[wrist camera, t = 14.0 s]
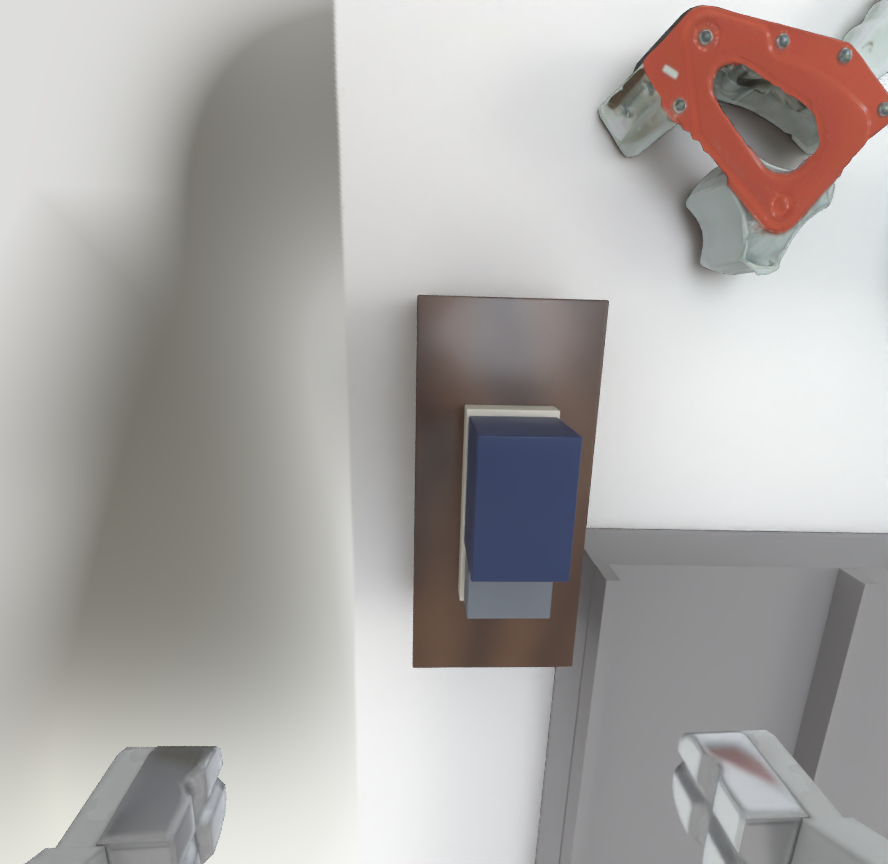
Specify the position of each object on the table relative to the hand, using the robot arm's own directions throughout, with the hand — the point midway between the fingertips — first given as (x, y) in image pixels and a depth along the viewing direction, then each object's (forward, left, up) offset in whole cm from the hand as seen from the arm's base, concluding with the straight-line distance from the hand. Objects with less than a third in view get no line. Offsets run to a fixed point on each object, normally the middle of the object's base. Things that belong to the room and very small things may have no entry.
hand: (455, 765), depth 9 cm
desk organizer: (+36, +7, -25) cm, 44 cm away
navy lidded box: (+3, +2, -17) cm, 17 cm away
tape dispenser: (-6, +26, -25) cm, 37 cm away
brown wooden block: (+3, +2, -25) cm, 25 cm away
